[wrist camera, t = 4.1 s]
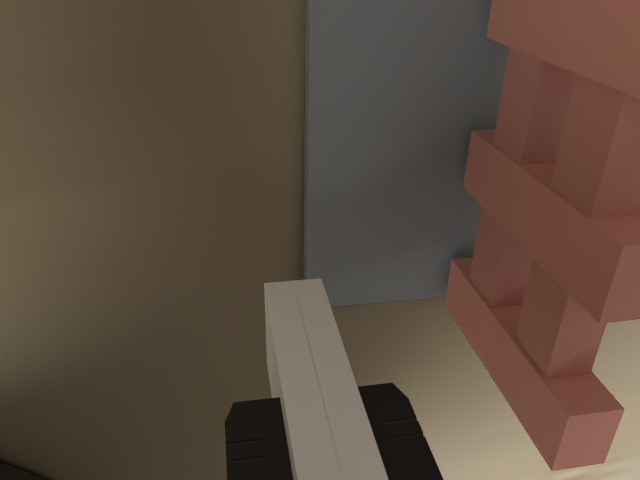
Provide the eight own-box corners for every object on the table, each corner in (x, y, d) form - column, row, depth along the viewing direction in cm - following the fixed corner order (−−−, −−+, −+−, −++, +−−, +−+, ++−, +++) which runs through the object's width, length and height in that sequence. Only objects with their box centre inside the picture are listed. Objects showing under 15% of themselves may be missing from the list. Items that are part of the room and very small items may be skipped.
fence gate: (505, -144, 13) (779, -205, 7) (575, -141, 14) (896, -196, 7) (438, 306, 20) (551, 489, 13) (487, 302, 20) (620, 478, 14)
